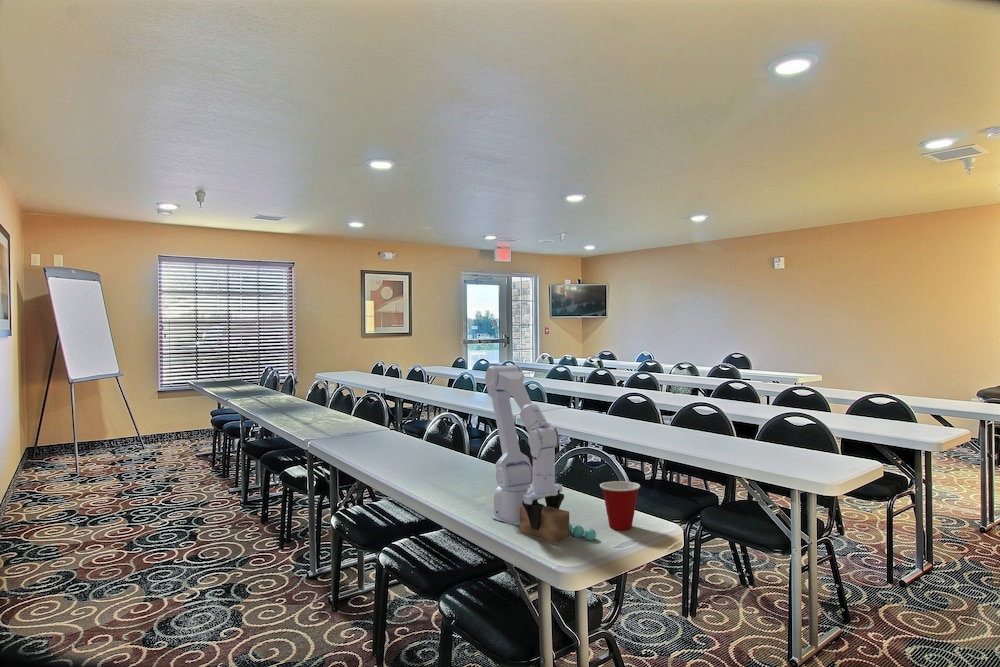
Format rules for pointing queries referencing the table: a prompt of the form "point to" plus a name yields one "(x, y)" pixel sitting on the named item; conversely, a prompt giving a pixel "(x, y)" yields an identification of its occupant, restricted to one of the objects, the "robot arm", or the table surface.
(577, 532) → the marble
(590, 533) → the teal egg
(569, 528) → the marble
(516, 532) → the felt mat
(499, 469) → the robot arm
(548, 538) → the wooden block
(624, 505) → the plastic cup
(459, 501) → the table surface
